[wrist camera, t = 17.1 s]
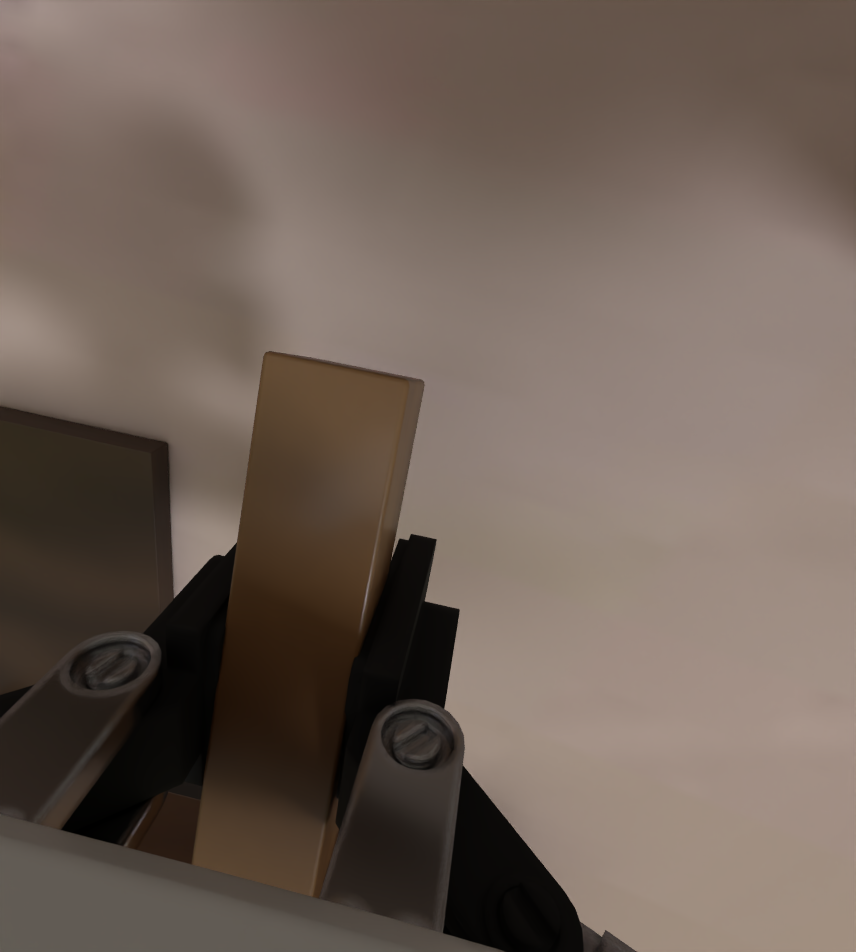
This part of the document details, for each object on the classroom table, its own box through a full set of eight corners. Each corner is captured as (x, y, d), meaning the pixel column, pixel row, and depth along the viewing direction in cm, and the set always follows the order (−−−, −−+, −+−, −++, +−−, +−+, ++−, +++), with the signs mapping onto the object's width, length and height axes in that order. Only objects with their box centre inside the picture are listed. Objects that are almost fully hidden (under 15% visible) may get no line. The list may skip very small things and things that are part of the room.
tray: (-135, 376, 21) (-164, 383, 20) (167, 442, 21) (150, 453, 20) (-49, 688, 28) (-68, 703, 27) (180, 747, 27) (168, 765, 27)
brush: (150, 324, 11) (14, 300, 8) (622, 418, 10) (682, 434, 7) (92, 860, 13) (-34, 1012, 10) (483, 963, 12) (482, 1160, 9)
